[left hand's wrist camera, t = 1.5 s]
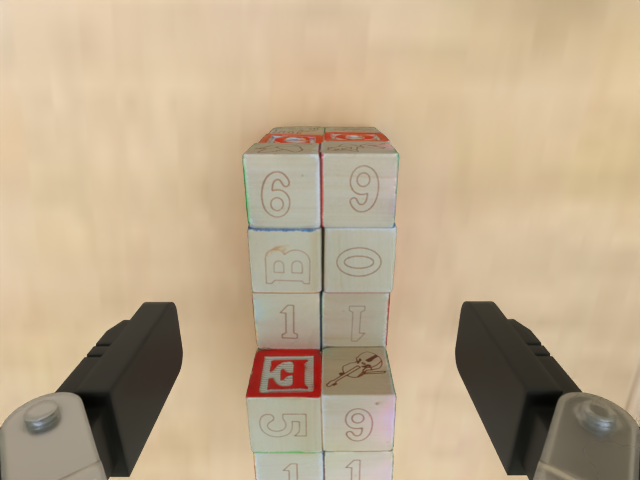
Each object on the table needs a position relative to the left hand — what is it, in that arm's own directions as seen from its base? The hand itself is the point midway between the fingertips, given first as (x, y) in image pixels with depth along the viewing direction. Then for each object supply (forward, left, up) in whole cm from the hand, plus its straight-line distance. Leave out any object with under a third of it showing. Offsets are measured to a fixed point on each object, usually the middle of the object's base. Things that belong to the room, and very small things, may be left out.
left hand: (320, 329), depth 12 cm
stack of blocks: (-3, +6, -15) cm, 17 cm away
